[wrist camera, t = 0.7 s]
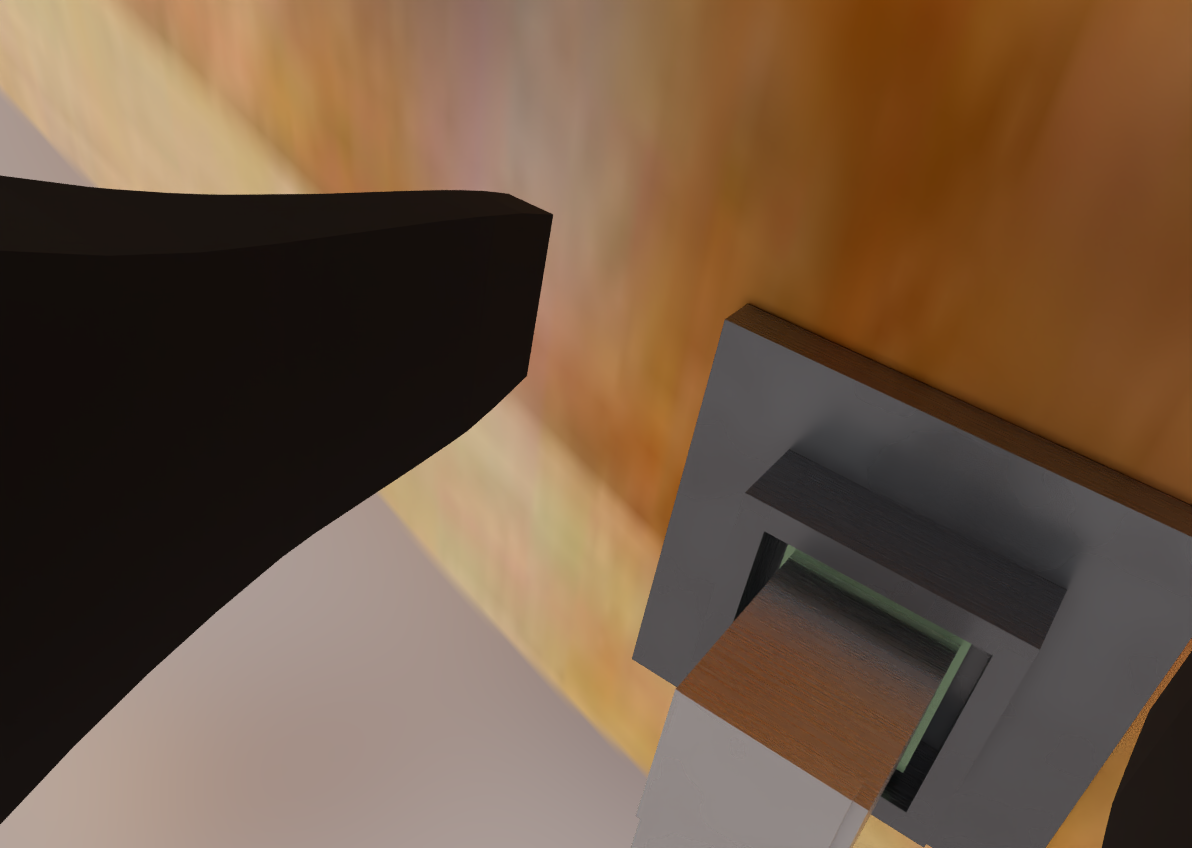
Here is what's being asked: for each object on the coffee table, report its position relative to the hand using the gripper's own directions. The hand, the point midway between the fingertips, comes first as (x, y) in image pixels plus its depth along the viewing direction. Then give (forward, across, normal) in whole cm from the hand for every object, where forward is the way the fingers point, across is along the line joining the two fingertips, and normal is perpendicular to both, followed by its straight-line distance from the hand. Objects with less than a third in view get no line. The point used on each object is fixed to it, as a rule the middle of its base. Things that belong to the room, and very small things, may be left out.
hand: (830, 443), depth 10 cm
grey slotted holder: (+10, 0, +10) cm, 14 cm away
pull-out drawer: (+9, 0, +10) cm, 13 cm away
